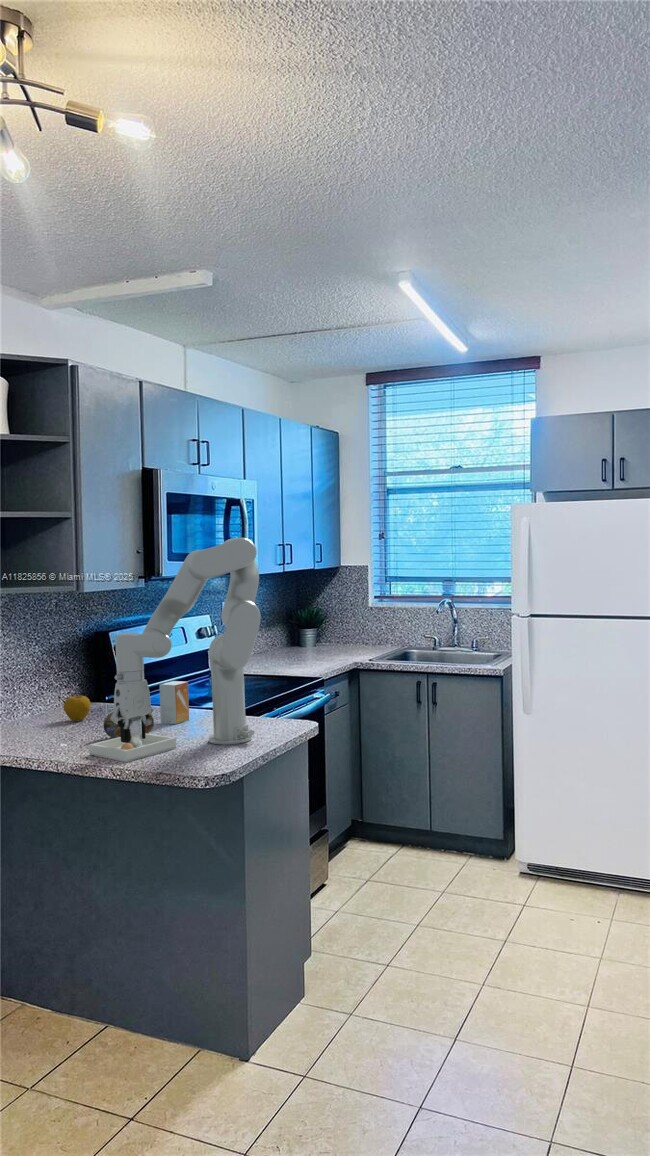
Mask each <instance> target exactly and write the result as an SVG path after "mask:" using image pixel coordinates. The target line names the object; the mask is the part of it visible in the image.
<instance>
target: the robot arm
mask: <svg viewBox="0 0 650 1156" xmlns="http://www.w3.org/2000/svg"><path fill="white" fill-rule="evenodd" d="M257 553H258V552H257V547H256V545H255V543H254V542H253V541H251V540H250V539H249V538H246V537H232V538H230V539H227V540H225V541H224V542H223V543H221V544H218V545H215V546H212V547H209V548H204V549H196V550H193V551H191V552H189V554H188V555H187V556H186V557H185V559H184V561H183V563H182V565H181V566H180V568H179V569H178V572H177V573H176V575H175V578H174V580H173V581H172V583H171V584H170V586H169V588H168V590H167V591H166V593H165V595H164V597H162V600H160V603H159V604H158V606H157V607H156V609H155V610H154V612H153V613H152V614H151V617H150V618H149V619H148V621H147V624H146V626H145V627H144V629H143V631H142V633H138V632H122V633H119V634H117V635H116V636H115V660H116V661H115V663H116V674H115V676H114V679H115V680H116V683H115V687H114V693H113V694H114V695H113V696H114V697H113V708H114V709H113V711H112V712H113V714H112V716H111V718H110V720H111V721H113V722H114V723H115V724H116V725H117V726H118V728H120V733H121V742H124V743H130V729H128V723H129V719H130V718H135V717H137V716H142V718H141V719H142V739H145V738H146V736H145V724H147V720H148V718H149V716H150V715H152V714H153V712H154V709H153V707H152V705H151V704H152V703H151V696H150V695H151V693H150V688H149V685H148V681H147V679H145V664H144V658H152V659H153V658H154V659H155V658H156V659H159V658H163V657H165V656H167V655H168V654H170V652H171V649H172V644H173V642H172V640H171V638H170V635H171V633H172V632H173V629H174V627H175V626H176V624H178V622H179V621H180V619H181V618H182V617H184V616H185V615H187V614H188V613H189V612H190V611H191V609H192V608H193V607H194V606H195V604H196V602H197V601H198V598H199V596H200V594H201V593H202V590H203V589H204V587H205V585H206V583H207V582H208V580H210V579H213V578H217V577H221V576H224V575H226V574H230V579H229V585H228V590H227V592H226V593H227V594H226V596H225V600H224V604H223V607H222V610H221V615H220V617H221V622H222V624H223V626H224V627H225V629H224V633H220V634H218V635H216V636H215V637H214V638H213V640H212V641H211V642H210V645H209V648H208V658H209V665H210V674H211V692H212V693H211V695H212V719H213V720H212V723H213V734H212V735H210V736H209V737H208V742H209V743H211V744H215V745H223V746H224V745H225V746H226V745H237V744H243V743H247V742H249V741H251V740H252V738H253V736H254V735H255V730H253V729H249V724H247V723H246V702H245V701H246V699H245V697H246V696H245V676H244V675H245V674H244V667H245V666H246V665H247V664H248V663H249V662H250V660H251V658H252V655H253V652H254V648H255V645H256V640H257V637H258V632H259V630H260V624H261V611H260V609H259V607H258V605H256V603H255V602H256V598H257V593H258V587H259V584H260V583H259V582H260V573H259V568H258V565H257V563H256V558H257ZM118 718H119V719H118ZM123 721H124V723H123Z"/></svg>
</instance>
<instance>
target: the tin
mask: <svg viewBox="0 0 650 1156" xmlns="http://www.w3.org/2000/svg"><path fill="white" fill-rule="evenodd" d="M113 712H114V711H112V712H111V713H108V714H107V715H106V717H105V718H104V720H103V729H104V732H105V734H106V735H107V736H109V737H110V739H114V738H118V737H121V733H120V728H118V726H117V725H116V724H115V723H114V722H113V721H111V720H110V718H111V716H112V714H113ZM118 719H119V718H118ZM154 721H155V720H154V716H153V715H152V714H151V715H150V716H149V718H148V720H147V724H145V733H147V734H151V732H152V730H153V728H154V725H155V724H154ZM123 723H124V721H123Z"/></svg>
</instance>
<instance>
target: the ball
mask: <svg viewBox="0 0 650 1156" xmlns="http://www.w3.org/2000/svg"><path fill="white" fill-rule="evenodd" d="M133 748H134V747H133V745H132V744H130V743H125V744H123V745H122V746H121V749H125V750H129V749H133Z"/></svg>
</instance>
